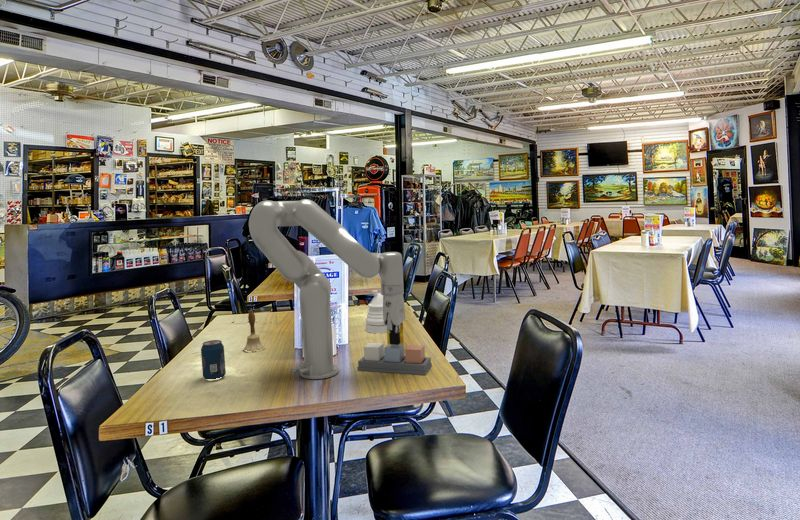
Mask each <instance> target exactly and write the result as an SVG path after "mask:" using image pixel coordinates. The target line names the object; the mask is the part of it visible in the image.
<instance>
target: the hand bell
mask: <svg viewBox="0 0 800 520" xmlns="http://www.w3.org/2000/svg"><path fill="white" fill-rule="evenodd" d="M247 318H248V323H249V326H250V327H249V328H250V330H249V331H250V334H249V335H248V336H247V338H246V339H247V340H246V345H245V346H244V347H243V349H244V350H247V351H255V350H260V349H263V348H264V347H265V346H264V345H263V344H262V343H261V342H262V341H261V340H260V335H258V334H256V328H255V323H256V315H255V312H254V309H249V311H248V315H247Z"/></svg>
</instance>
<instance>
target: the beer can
mask: <svg viewBox="0 0 800 520" xmlns="http://www.w3.org/2000/svg"><path fill="white" fill-rule="evenodd" d="M399 332H400V344H404V343H405V342H404V321H403V322H402V323H401V324H400V331H399ZM386 339H387V342H386V343H387V345H388V344H390V339H389V330H387V333H386ZM404 345H405V344H404Z"/></svg>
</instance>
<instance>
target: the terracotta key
mask: <svg viewBox="0 0 800 520" xmlns="http://www.w3.org/2000/svg"><path fill="white" fill-rule="evenodd" d="M425 346H426V345H424V344H423V345H420V344H419V345H418V344H408V346H407V347H406V348H404V356H405V360H406V363H419V364H421V363H422V362H423V361H424V359H425V357H426V349H425Z"/></svg>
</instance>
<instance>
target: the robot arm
mask: <svg viewBox="0 0 800 520" xmlns="http://www.w3.org/2000/svg"><path fill="white" fill-rule="evenodd" d="M297 226H301V228H303V229H304V230H306V232H308V233H309V234H310V235H312V236H313V237H314V239H316V240H317V241H319V243H321V244H322V245H323V246H325V247H326V249H328V251H330V252H332V253H333V254H334V255H335V256H336V257H338V258H339V259H340V260H341V261H343V262H344V263H345V264H346V265H347V266H348V267H349V268H351V269H352V270H353V271H354V272H355V273H357V274H358V275H359V276H360V277H362V278H365V279H372V278H374V277H376V276H377V275H378V274H379V275H380V278H379V279H380V293H381V295H383V321H384V324H385V325H387V330H389V339H390V344H391V345H399V344H400V332H399V331H400V324H401V323H402V322H403V323H404V321H406V309H405V308H406V306H405V300H404V294H405V292H404V291H405V289H404V285H405V284H404V270H403V269H404V268H403V267H404V266H403V264H404V263H403V255H402V253H401V252H398V251H386V252H382V253H381V252H379V253H378V252H370V251H369V250H367V249H366V248H365V247H364V246H363V245H362V244H361V243H359V242H358V241H357V240H356V239H355V238H354V237H353V235H351V234H350V233H349V231H348V230H347V229H346V228H345V227H344V226H343V225H342V224H341V223H340V222H339V221H338V220H336V219H335V218H333V217H332V216H331V215H330V214H329V213H327V212H326V210H324V209H323V208H322V207H320V205H319V204H317V203H316V202H315V201H313V200H311V199H307V198H304V199H303V198H302V199H301V200H283V201H282V200H278V201H276V200H275V201H273V200H269V199H268V200H262V201H260V202H258V203H257V204H256V205H255V206H254V207H253V209H252V210H251V213H250V215H249V219H248V228H249V229H248V230H249V234H250V237H251V239H252V241H253V242H254V244H255V245H256V247H257V248H258V249H259V250H260V251H261V253H262V254H263V255H264V256H265V257H266V258H267V260H268V262H270V263H271V264H272V266H273V267H274V268H275V269H276V270H277V271H278V273H279V274H280V275H281V276H282V278H283V279H284V280H286V281H288V282H293V283H294V284H295V286H297V288H298V289H299V306H300V315H301V328H302V330H301V331H302V346H303V360H302V361H300V364H299V365H298V366H293V367H291V368H290V373H291V374H297V373H299V376H300V377H302V378H304V379H308V380H322V379H327V378H331V377H333V376H335V375H337V374H338V373H339V370H340V369H339V366H337V365H335V363H334V362H335V361H334V348H333V347H334V346H333V329H332V328H333V326H332V324H333V323H332V311H331V310H332V309H331V308H332V307H331V292H332V286H331V282H330V281H329V279H328V278H327V276H326V275H325V274H324V273H323V272H322V271H321V269H320V268H319V267H318V266H317V265H316V263H315V262H314V261H313V260H312V259H311V258H310V257H309V256H308V254H306V253H305V252H303V251H301V250H298V249H296V248H295V247H294V246H293V245H292V244H291V243H290V242H289V240H288V239H287V238H286V237H285V235H283V234H282V232H281V230H279V228H278V227H297Z"/></svg>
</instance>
